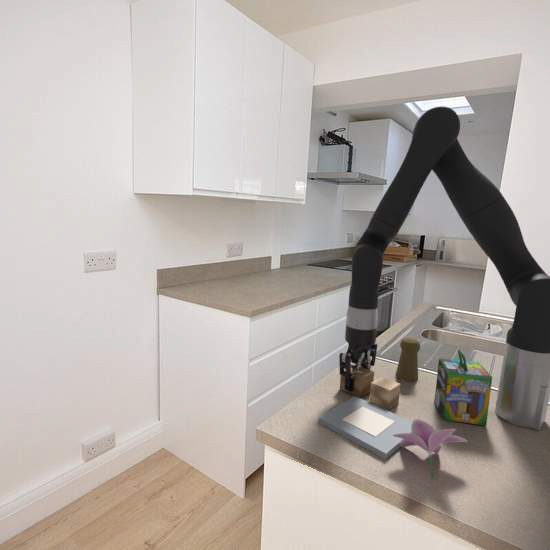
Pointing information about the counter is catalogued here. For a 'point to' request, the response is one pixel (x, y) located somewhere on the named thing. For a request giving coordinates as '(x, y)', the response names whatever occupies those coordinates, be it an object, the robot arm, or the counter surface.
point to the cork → (408, 360)
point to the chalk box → (462, 391)
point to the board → (367, 425)
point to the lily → (428, 438)
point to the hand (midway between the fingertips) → (356, 386)
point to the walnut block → (359, 381)
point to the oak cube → (384, 393)
